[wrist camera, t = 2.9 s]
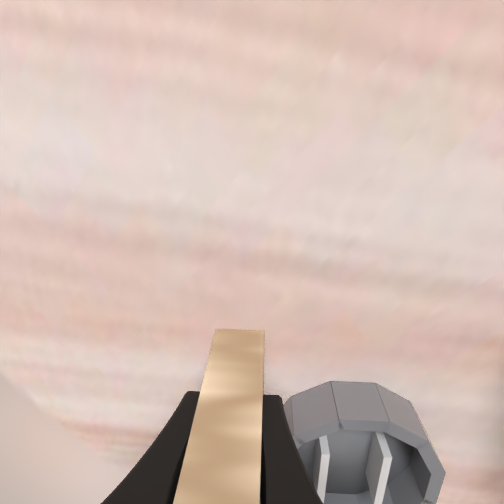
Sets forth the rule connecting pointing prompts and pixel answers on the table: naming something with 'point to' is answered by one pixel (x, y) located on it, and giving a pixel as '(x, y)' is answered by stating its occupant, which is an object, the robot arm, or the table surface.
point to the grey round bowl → (363, 445)
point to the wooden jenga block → (227, 424)
